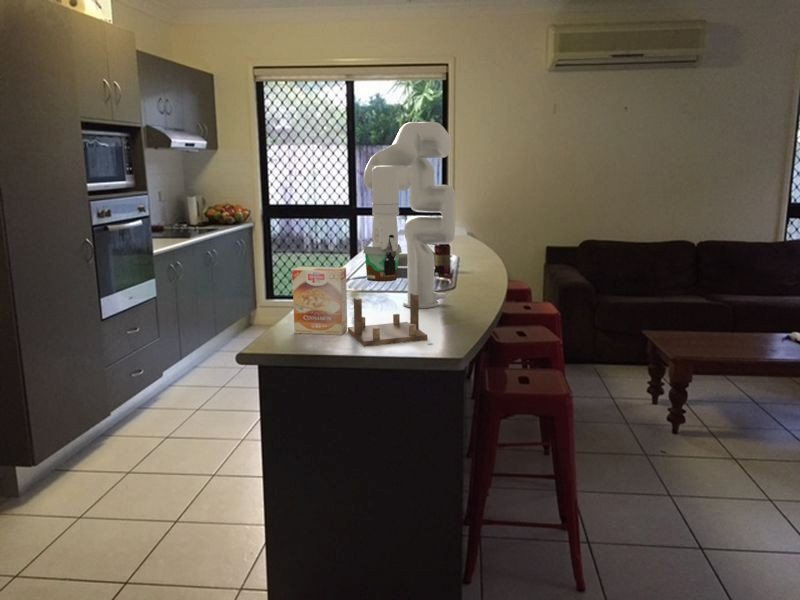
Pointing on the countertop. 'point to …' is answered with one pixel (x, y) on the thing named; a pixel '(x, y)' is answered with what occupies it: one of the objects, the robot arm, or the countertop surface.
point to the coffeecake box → (320, 300)
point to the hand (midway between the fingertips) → (386, 272)
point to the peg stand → (387, 326)
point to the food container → (379, 264)
